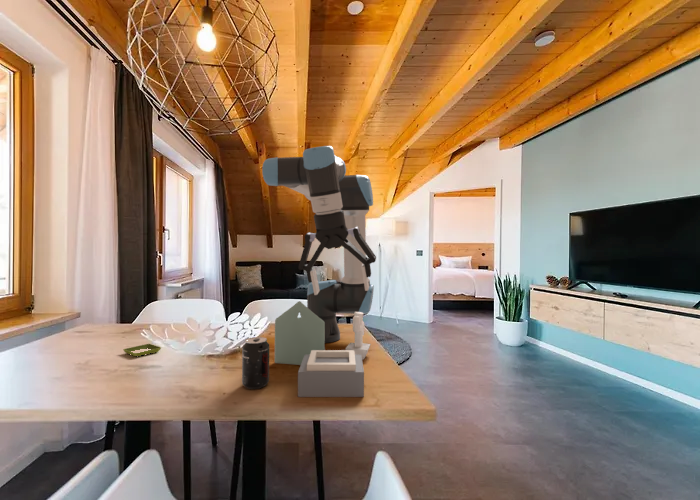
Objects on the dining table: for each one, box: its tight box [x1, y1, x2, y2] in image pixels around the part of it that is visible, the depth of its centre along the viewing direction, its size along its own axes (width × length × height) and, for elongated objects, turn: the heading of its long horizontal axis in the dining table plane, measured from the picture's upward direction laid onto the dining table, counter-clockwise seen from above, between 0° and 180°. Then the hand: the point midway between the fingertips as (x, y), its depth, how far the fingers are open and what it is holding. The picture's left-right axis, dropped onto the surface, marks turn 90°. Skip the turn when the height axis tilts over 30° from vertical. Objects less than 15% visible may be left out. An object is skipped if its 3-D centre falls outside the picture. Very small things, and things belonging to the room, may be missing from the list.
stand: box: [297, 349, 365, 398], centre depth 89 cm, size 14×16×8 cm
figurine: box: [345, 312, 371, 360], centre depth 113 cm, size 7×9×15 cm
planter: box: [274, 301, 326, 366], centre depth 109 cm, size 16×8×20 cm, turn 78°
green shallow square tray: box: [123, 343, 162, 357], centre depth 116 cm, size 9×9×2 cm
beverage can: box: [241, 336, 270, 390], centre depth 89 cm, size 7×7×12 cm
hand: (341, 291), depth 89 cm, fingers open, 13 cm apart
